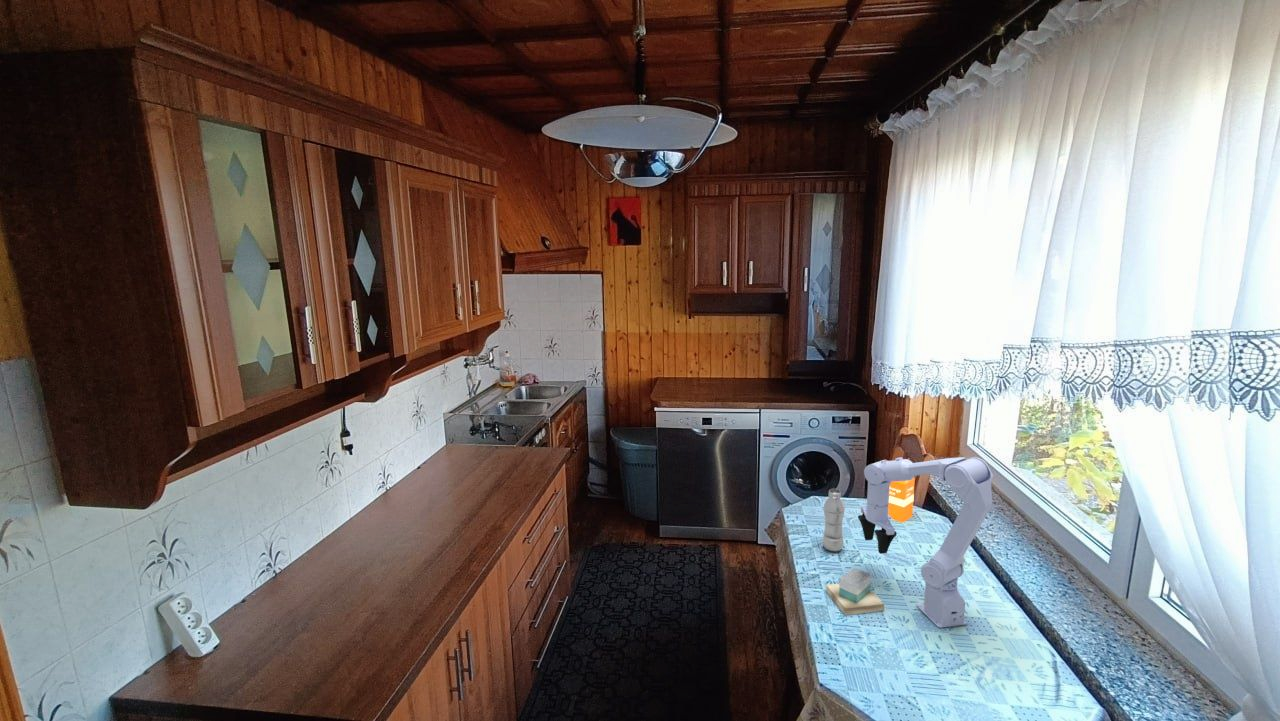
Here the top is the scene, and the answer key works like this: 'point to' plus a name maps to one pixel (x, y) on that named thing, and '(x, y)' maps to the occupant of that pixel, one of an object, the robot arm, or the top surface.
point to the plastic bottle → (833, 521)
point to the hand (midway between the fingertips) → (875, 546)
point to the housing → (855, 585)
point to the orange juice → (901, 500)
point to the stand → (848, 607)
